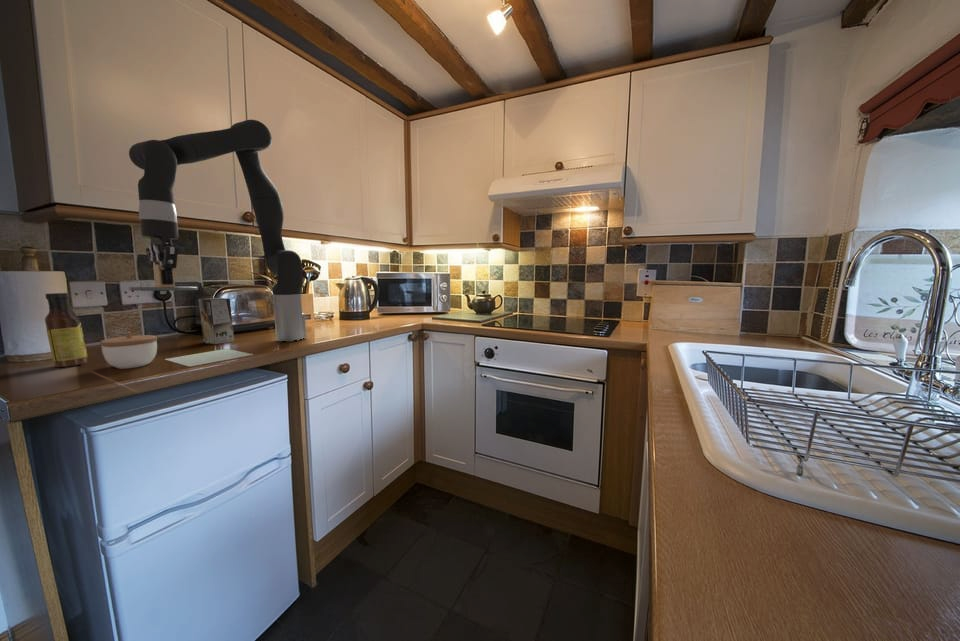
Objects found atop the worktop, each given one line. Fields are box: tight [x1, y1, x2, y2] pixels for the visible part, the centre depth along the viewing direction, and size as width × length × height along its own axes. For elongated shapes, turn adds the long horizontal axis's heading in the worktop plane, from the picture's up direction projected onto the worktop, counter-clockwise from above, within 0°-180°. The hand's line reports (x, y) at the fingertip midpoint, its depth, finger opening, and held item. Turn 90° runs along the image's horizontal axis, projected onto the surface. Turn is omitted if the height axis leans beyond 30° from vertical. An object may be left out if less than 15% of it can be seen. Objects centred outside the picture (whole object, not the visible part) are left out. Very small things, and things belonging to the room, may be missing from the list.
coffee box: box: [198, 297, 235, 345], centre depth 126 cm, size 9×6×16 cm
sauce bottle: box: [44, 292, 88, 368], centre depth 94 cm, size 7×6×20 cm
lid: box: [128, 265, 199, 292], centre depth 95 cm, size 14×14×7 cm
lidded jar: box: [99, 331, 158, 370], centre depth 94 cm, size 11×11×9 cm
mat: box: [164, 348, 254, 367], centre depth 104 cm, size 16×16×1 cm
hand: (164, 284), depth 96 cm, fingers closed on lid, 3 cm apart
